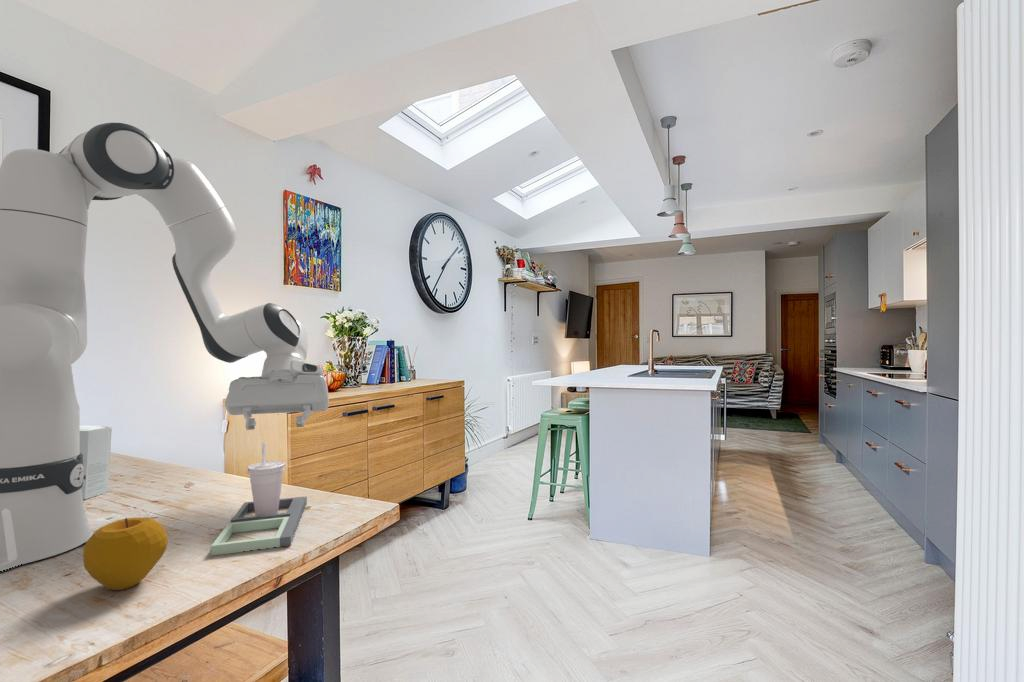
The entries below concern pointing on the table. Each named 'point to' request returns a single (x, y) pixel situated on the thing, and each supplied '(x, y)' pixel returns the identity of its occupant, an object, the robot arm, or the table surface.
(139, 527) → the apple
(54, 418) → the robot arm
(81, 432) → the skincare box
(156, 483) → the table surface
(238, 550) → the rail
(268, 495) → the smoothie
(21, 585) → the table surface
